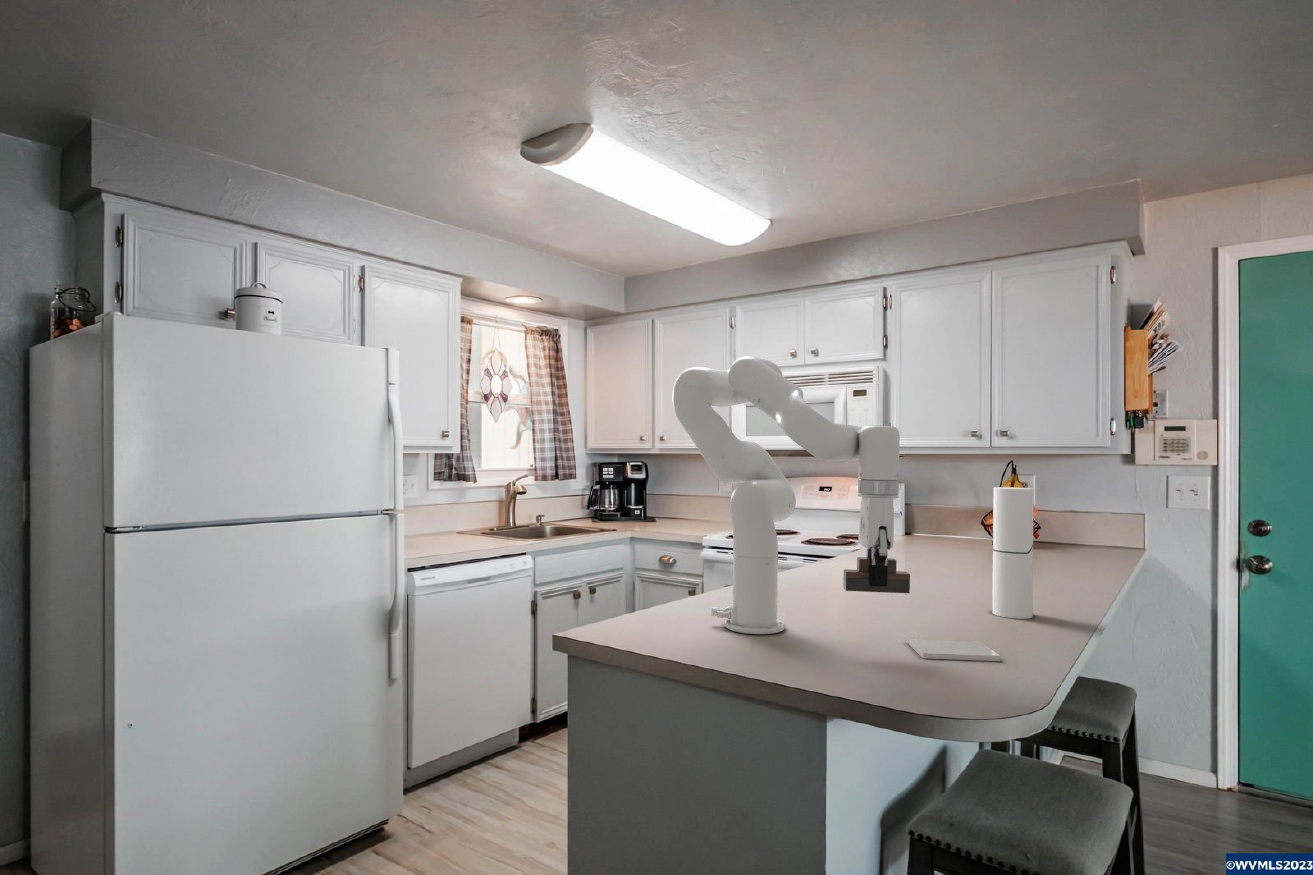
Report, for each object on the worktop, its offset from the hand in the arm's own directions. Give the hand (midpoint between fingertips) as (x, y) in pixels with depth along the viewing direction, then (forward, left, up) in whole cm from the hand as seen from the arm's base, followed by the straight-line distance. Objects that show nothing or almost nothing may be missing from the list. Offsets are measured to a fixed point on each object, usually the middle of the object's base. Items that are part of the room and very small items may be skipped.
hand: (876, 583), depth 143 cm
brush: (0, 0, -1) cm, 1 cm away
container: (+40, +36, -13) cm, 55 cm away
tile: (+15, 0, -13) cm, 19 cm away
